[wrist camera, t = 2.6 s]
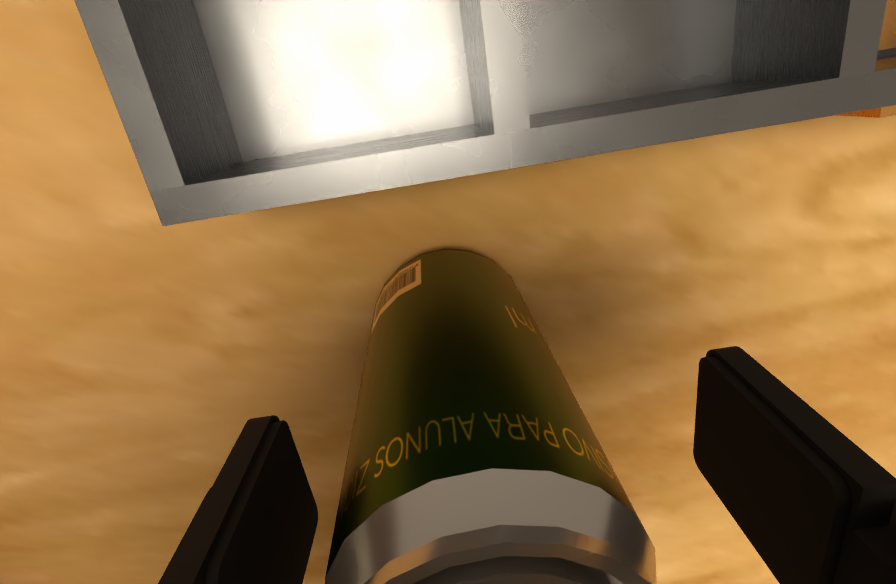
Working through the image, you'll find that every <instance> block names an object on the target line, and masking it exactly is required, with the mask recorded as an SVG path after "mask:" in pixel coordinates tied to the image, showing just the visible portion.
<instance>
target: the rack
mask: <svg viewBox="0 0 896 584" xmlns="http://www.w3.org/2000/svg"><path fill="white" fill-rule="evenodd" d="M75 3H76V6H77V8H78V11H79V13H80V16H81V18H82V21H83V23H84V26H85V29H86V31H87V34H88V36H89V39H90V41H91V44H92V46H93V49H94V52H95V54H96V57H97V59H98V62H99V64H100V67H101V69H102V72H103V75H104V77H105V80H106V82H107V85H108V87H109V90H110V92H111V95H112V98H113V100H114V103H115V105H116V108H117V110H118V113H119V115H120V118H121V121H122V123H123V126H124V128H125V131H126V133H127V136H128V138H129V141H130V143H131V146H132V149H133V151H134V154H135V156H136V159H137V161H138V164H139V166H140V169H141V172H142V174H143V177H144V179H145V182H146V184H147V187H148V189H149V192H150V195H151V197H152V200H153V202H154V205H155V207H156V210H157V212H158V215H159V218H160V220H161V223H162V225H163V226H166V225H172V224H178V223H184V222H190V221H196V220H202V219H208V218H215V217H221V216H227V215H233V214H239V213H245V212H251V211H257V210H263V209H269V208H275V207H281V206H287V205H293V204H299V203H305V202H311V201H317V200H324V199H330V198H336V197H342V196H348V195H354V194H360V193H366V192H372V191H378V190H384V189H390V188H396V187H402V186H408V185H414V184H420V183H426V182H433V181H439V180H445V179H451V178H457V177H463V176H469V175H475V174H481V173H487V172H493V171H499V170H505V169H511V168H517V167H523V166H529V165H535V164H542V163H548V162H554V161H560V160H566V159H572V158H578V157H584V156H590V155H596V154H602V153H608V152H614V151H620V150H626V149H632V148H638V147H645V146H651V145H657V144H663V143H669V142H675V141H681V140H687V139H693V138H699V137H705V136H711V135H717V134H723V133H729V132H735V131H741V130H747V129H754V128H760V127H766V126H772V125H778V124H784V123H790V122H796V121H802V120H808V119H814V118H820V117H826V116H832V115H840V116H859V117H878V118H880V117H886V116H892V115H896V0H75Z"/></svg>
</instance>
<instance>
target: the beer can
mask: <svg viewBox="0 0 896 584" xmlns="http://www.w3.org/2000/svg"><path fill="white" fill-rule="evenodd" d="M325 584H657V582H656V561H655V548H654V546H653V544H652V542H651V540H650V538H649V536H648V535H647V533H646V531H645V529H644V527H643V525H642V523H641V521H640V519H639V518H638V516H637V514H636V512H635V510H634V508H633V506H632V504H631V502H630V501H629V499H628V497H627V495H626V493H625V491H624V489H623V487H622V485H621V484H620V482H619V480H618V478H617V476H616V474H615V472H614V470H613V468H612V466H611V465H610V463H609V461H608V459H607V457H606V455H605V453H604V451H603V449H602V448H601V446H600V444H599V442H598V440H597V438H596V436H595V434H594V432H593V431H592V429H591V427H590V425H589V423H588V421H587V419H586V417H585V415H584V414H583V412H582V410H581V408H580V406H579V404H578V402H577V400H576V398H575V396H574V395H573V393H572V391H571V389H570V387H569V385H568V383H567V381H566V379H565V378H564V376H563V374H562V372H561V370H560V368H559V366H558V364H557V362H556V361H555V359H554V357H553V355H552V353H551V351H550V349H549V347H548V345H547V344H546V342H545V340H544V338H543V336H542V334H541V332H540V330H539V328H538V326H537V325H536V323H535V321H534V319H533V317H532V315H531V313H530V311H529V309H528V308H527V306H526V304H525V302H524V300H523V298H522V296H521V294H520V293H519V291H518V289H517V287H516V285H515V283H514V282H513V280H512V278H511V276H510V275H508V274H507V273H506V272H505V271H504V270H503V269H502V268H501V267H499V266H498V265H497V264H496V263H495V262H494V261H492V260H489V259H487V258H485V257H482V256H480V255H478V254H475V253H473V252H468V251H457V250H442V251H437V252H433V253H428V254H423V255H421V256H419V257H417V258H415V259H414V260H412V261H410V262H408V263H406V264H405V265H403V266H401V267H400V268H399V269H398V270H397V271H396V272H395V273H394V274H393V276H392V277H391V278H390V279H389V280H388V281H387V282H386V283H385V284H384V286H383V289H382V291H381V293H380V296H379V298H378V300H377V302H376V305H375V310H374V315H373V321H372V326H371V331H370V337H369V342H368V348H367V353H366V359H365V364H364V370H363V375H362V380H361V386H360V391H359V397H358V402H357V408H356V413H355V419H354V424H353V429H352V435H351V440H350V446H349V451H348V457H347V462H346V468H345V473H344V478H343V484H342V489H341V495H340V500H339V506H338V511H337V517H336V522H335V528H334V533H333V538H332V544H331V549H330V555H329V560H328V566H327V571H326V577H325Z"/></svg>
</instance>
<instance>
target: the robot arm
mask: <svg viewBox="0 0 896 584" xmlns="http://www.w3.org/2000/svg"><path fill="white" fill-rule="evenodd" d="M693 454H694V459H695V462H696V464H697V467H698V468H699V470H700V471H701V473H702V474H703V476H704V477H705V478H706V480H707V481H708V483H709V484H710V486H711V487H712V488H713V490H714V491H715V493H716V494H717V495H718V497H719V498H720V500H721V501H722V503H723V504H724V505H725V507H726V508H727V510H728V511H729V512H730V514H731V515H732V517H733V518H734V520H735V521H736V522H737V524H738V525H739V527H740V528H741V529H742V531H743V532H744V534H745V535H746V537H747V538H748V539H749V541H750V542H751V544H752V545H753V546H754V548H755V549H756V551H757V552H758V553H759V555H760V556H761V558H762V559H763V561H764V562H765V563H766V565H767V566H768V568H769V569H770V570H771V572H772V573H773V575H774V576H775V578H776V579H777V580H778V582H779V583H780V584H896V478H895V477H893V476H892V475H891V474H890V473H889V472H888V471H886V470H885V469H884V468H883V467H882V466H880V465H879V464H878V463H877V462H876V461H874V460H873V459H872V458H871V457H870V456H869V455H867V454H866V453H865V452H864V451H863V450H861V449H860V448H859V447H858V446H857V445H855V444H854V443H853V442H852V441H851V440H849V439H848V438H847V437H846V436H845V435H844V434H842V433H841V432H840V431H839V430H838V429H836V428H835V427H834V426H833V425H832V424H830V423H829V422H828V421H827V420H826V419H825V418H823V417H822V416H821V415H820V414H819V413H817V412H816V411H815V410H814V409H813V408H811V407H810V406H809V405H808V404H807V403H806V402H804V401H803V400H802V399H801V398H800V397H798V396H797V395H796V394H795V393H794V392H792V391H791V390H790V389H789V388H788V387H786V386H785V385H784V384H783V383H782V382H781V381H779V380H778V379H777V378H776V377H775V376H773V375H772V374H771V373H770V372H769V371H767V370H766V369H765V368H764V367H763V366H762V365H760V364H759V363H758V362H757V361H756V360H754V359H753V358H752V357H751V356H750V355H748V354H747V353H746V352H745V351H744V350H743V349H741V348H740V347H737V346H733V347H726V348H720V349H713V350H710V351H708V352H707V354H706V357H704V358H701V360H700V362H699V373H698V388H697V403H696V418H695V433H694V449H693ZM317 522H318V511H317V506H316V503H315V500H314V497H313V494H312V491H311V489H310V486H309V483H308V480H307V477H306V474H305V472H304V469H303V466H302V463H301V460H300V457H299V454H298V452H297V449H296V446H295V443H294V440H293V437H292V435H291V432H290V429H289V426H288V424H287V422H286V421H284V420H283V421H280V420H279V418H278V417H277V416H275V415H273V416H266V417H260V418H253V419H250V420H248V421H247V423H246V424H245V426H244V428H243V430H242V432H241V434H240V436H239V438H238V439H237V441H236V443H235V445H234V447H233V449H232V451H231V453H230V454H229V456H228V458H227V460H226V462H225V464H224V466H223V468H222V469H221V471H220V473H219V475H218V477H217V479H216V481H215V483H214V484H213V486H212V487H211V488H210V490H209V491H208V493H207V494H206V496H205V498H204V500H203V501H202V503H201V505H200V507H199V509H198V511H197V513H196V514H195V516H194V518H193V520H192V522H191V524H190V526H189V527H188V529H187V531H186V533H185V535H184V537H183V539H182V540H181V542H180V544H179V546H178V548H177V550H176V552H175V553H174V555H173V557H172V559H171V561H170V563H169V565H168V566H167V568H166V570H165V572H164V574H163V576H162V578H161V579H160V581H159V583H158V584H302V583H303V579H304V575H305V571H306V567H307V563H308V559H309V555H310V551H311V547H312V543H313V539H314V535H315V531H316V527H317Z"/></svg>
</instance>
